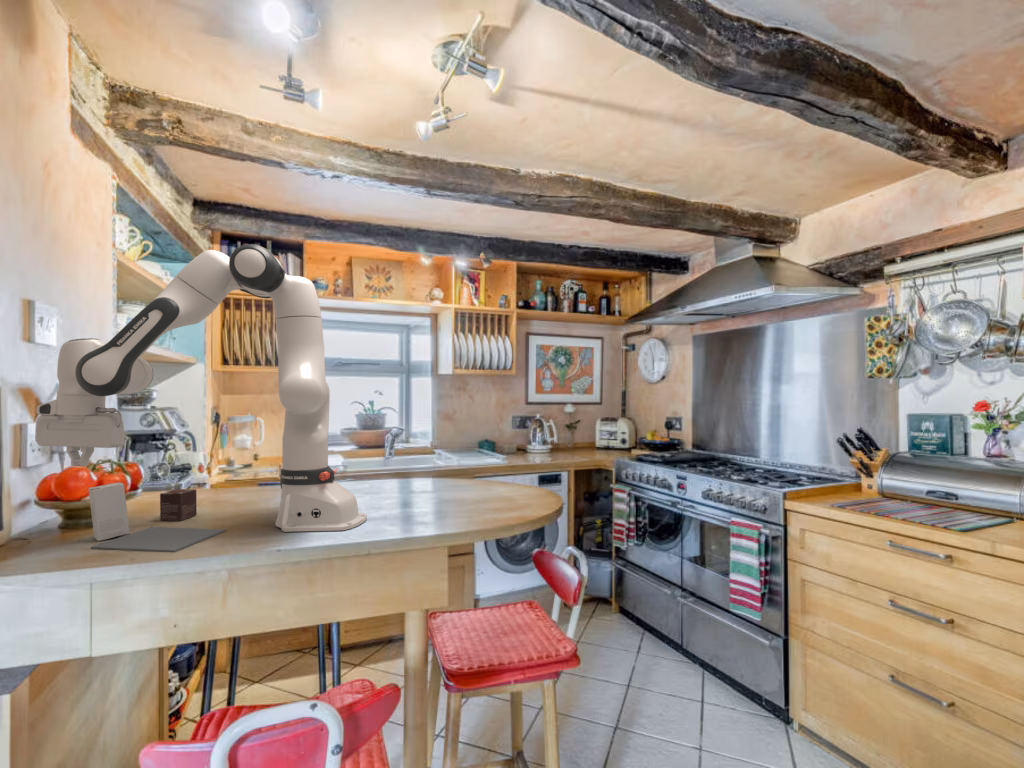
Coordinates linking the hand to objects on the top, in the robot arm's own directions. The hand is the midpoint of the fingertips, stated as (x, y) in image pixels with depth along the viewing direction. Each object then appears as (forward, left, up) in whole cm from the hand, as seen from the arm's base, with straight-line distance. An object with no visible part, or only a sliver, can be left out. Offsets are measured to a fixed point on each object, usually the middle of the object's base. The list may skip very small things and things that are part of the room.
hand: (80, 466), depth 119 cm
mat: (-21, 0, -17) cm, 27 cm away
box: (-10, -18, -17) cm, 27 cm away
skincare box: (-8, 0, -17) cm, 18 cm away
